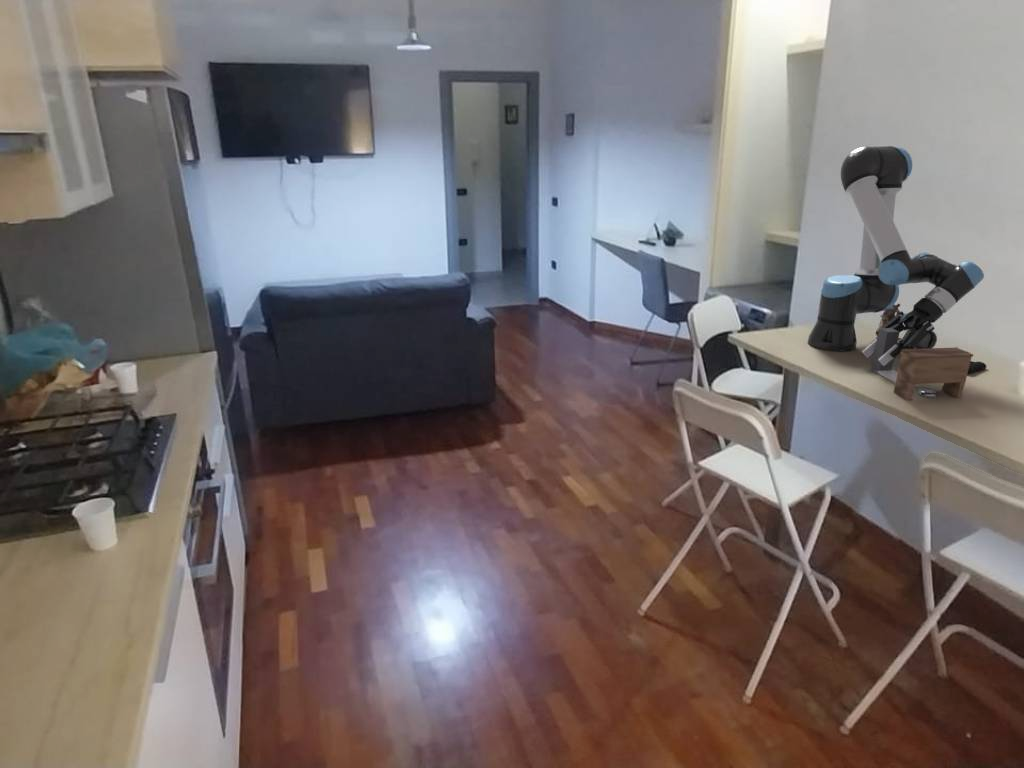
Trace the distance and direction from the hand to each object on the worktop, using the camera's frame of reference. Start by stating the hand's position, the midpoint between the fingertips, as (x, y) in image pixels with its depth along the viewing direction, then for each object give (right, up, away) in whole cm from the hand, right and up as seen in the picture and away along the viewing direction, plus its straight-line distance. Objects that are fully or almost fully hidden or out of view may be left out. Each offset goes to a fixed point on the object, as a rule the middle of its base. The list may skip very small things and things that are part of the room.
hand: (872, 358), depth 206 cm
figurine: (+25, +9, +37) cm, 46 cm away
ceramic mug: (+27, +4, +24) cm, 36 cm away
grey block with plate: (+4, -6, -4) cm, 8 cm away
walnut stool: (+6, -11, -17) cm, 21 cm away
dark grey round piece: (+6, -11, -17) cm, 21 cm away
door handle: (+29, -2, +10) cm, 31 cm away
